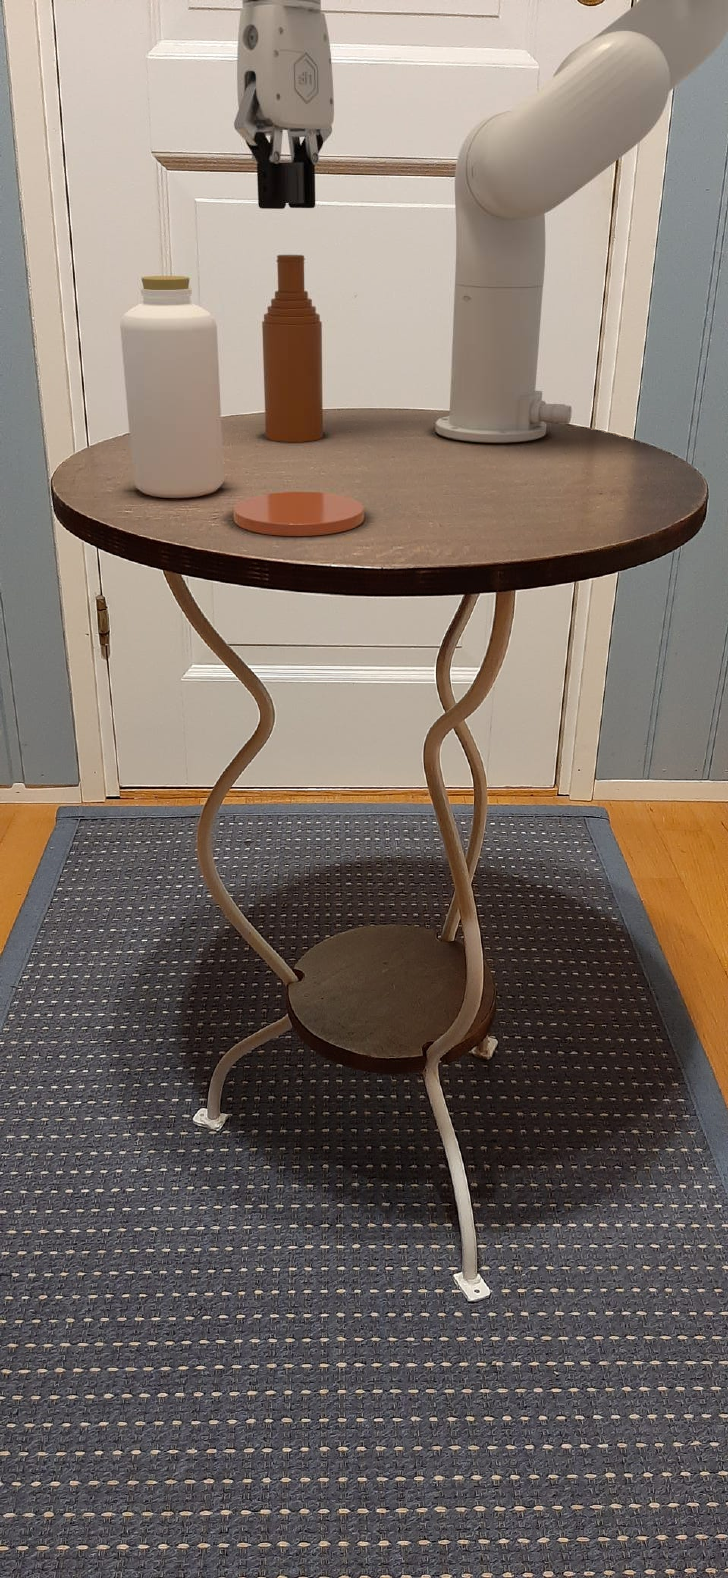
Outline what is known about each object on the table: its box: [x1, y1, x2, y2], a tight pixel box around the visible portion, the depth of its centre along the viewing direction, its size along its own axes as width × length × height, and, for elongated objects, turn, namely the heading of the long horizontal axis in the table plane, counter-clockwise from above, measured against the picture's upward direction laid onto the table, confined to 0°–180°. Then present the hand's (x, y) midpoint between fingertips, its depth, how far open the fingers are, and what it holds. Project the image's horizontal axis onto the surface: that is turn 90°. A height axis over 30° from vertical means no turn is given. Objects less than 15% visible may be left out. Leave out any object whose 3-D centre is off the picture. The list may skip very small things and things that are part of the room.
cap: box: [278, 161, 305, 204], centre depth 117 cm, size 4×4×4 cm
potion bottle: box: [119, 275, 225, 499], centre depth 102 cm, size 8×8×18 cm
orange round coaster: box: [232, 491, 365, 537], centre depth 97 cm, size 11×11×1 cm
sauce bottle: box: [261, 254, 324, 443], centre depth 125 cm, size 6×6×18 cm
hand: (287, 206), depth 118 cm, fingers closed on cap, 4 cm apart
